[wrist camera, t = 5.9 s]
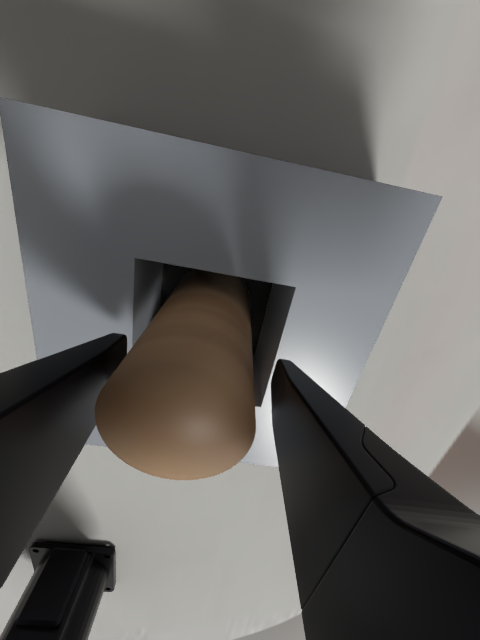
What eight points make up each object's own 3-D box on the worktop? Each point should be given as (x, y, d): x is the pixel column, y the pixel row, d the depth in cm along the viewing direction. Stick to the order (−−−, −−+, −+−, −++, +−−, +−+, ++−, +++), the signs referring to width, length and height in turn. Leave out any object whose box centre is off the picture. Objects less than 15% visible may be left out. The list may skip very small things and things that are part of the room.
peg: (241, 338, 14) (239, 489, 7) (173, 326, 14) (96, 468, 7) (256, 272, 13) (273, 375, 5) (180, 257, 13) (91, 345, 5)
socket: (298, 409, 16) (315, 471, 13) (93, 381, 15) (48, 440, 12) (377, 195, 11) (442, 196, 8) (81, 130, 10) (-3, 96, 7)
